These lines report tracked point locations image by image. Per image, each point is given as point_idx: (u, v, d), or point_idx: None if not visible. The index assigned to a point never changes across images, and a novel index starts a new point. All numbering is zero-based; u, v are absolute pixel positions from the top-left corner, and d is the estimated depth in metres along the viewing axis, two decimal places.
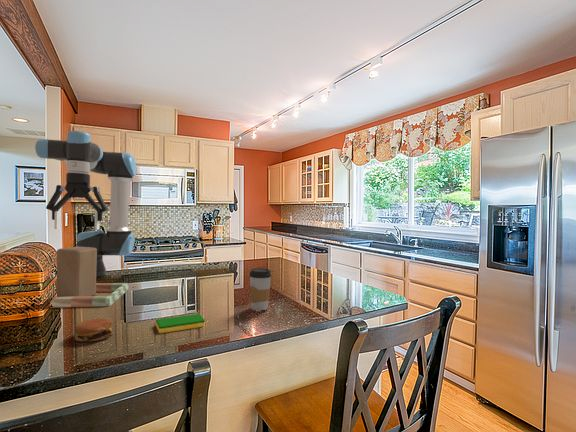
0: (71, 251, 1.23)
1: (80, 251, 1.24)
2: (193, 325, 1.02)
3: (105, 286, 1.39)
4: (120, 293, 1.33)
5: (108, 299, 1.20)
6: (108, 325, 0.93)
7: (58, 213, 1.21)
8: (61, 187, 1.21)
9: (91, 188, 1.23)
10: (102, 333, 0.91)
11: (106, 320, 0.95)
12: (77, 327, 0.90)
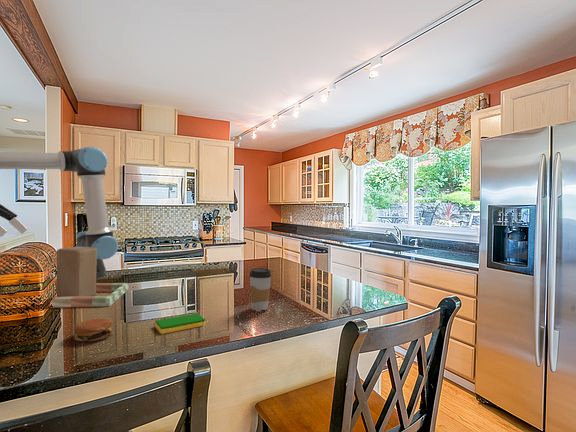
0: (71, 251, 1.23)
1: (80, 251, 1.24)
2: (194, 324, 1.03)
3: (105, 286, 1.39)
4: (120, 293, 1.33)
5: (108, 299, 1.20)
6: (108, 325, 0.93)
7: (12, 221, 1.29)
8: None
9: None
10: (102, 333, 0.91)
11: (106, 320, 0.95)
12: (77, 327, 0.90)
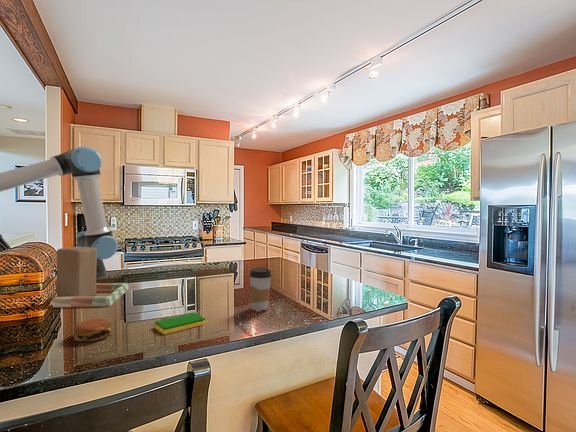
0: (71, 251, 1.23)
1: (80, 251, 1.24)
2: (195, 324, 1.03)
3: (105, 286, 1.39)
4: (120, 293, 1.33)
5: (108, 299, 1.20)
6: (107, 325, 0.93)
7: None
8: None
9: None
10: (101, 333, 0.91)
11: (105, 320, 0.95)
12: (76, 327, 0.90)
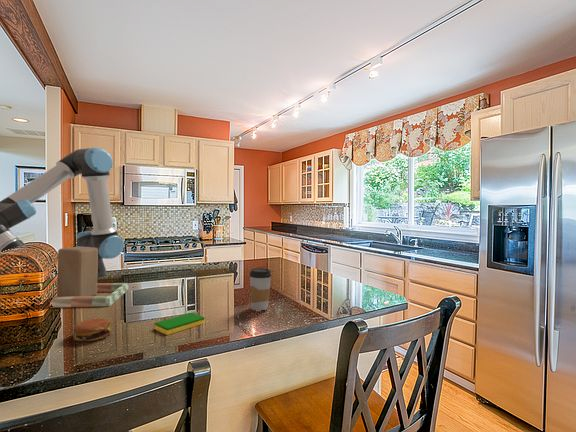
0: (73, 251, 1.24)
1: (82, 251, 1.24)
2: (195, 323, 1.04)
3: (105, 286, 1.39)
4: (120, 293, 1.33)
5: (108, 299, 1.20)
6: (107, 325, 0.93)
7: None
8: None
9: None
10: (100, 333, 0.91)
11: (105, 320, 0.95)
12: (76, 327, 0.90)
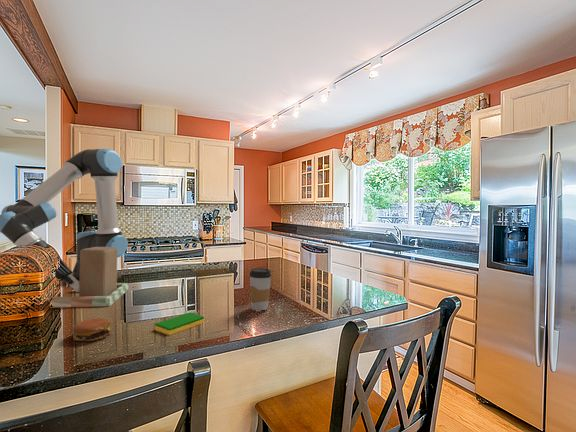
0: (96, 251, 1.25)
1: (105, 251, 1.27)
2: (195, 323, 1.04)
3: None
4: (120, 293, 1.33)
5: (108, 299, 1.20)
6: (106, 325, 0.93)
7: None
8: None
9: None
10: (100, 333, 0.91)
11: (104, 320, 0.95)
12: (75, 327, 0.90)
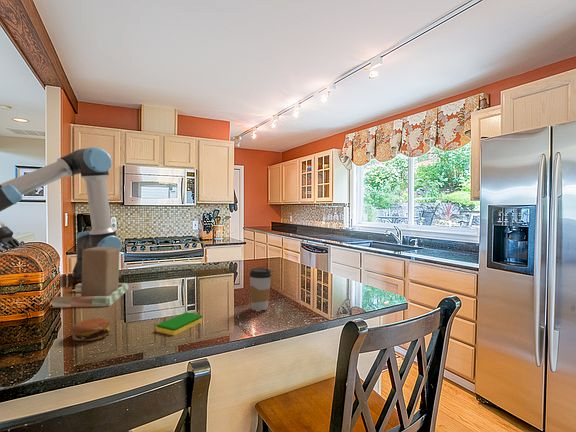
0: (99, 251, 1.25)
1: (108, 251, 1.27)
2: (196, 322, 1.05)
3: None
4: (120, 293, 1.33)
5: (108, 299, 1.20)
6: (105, 325, 0.93)
7: None
8: None
9: None
10: (99, 333, 0.91)
11: (104, 320, 0.95)
12: (74, 326, 0.90)
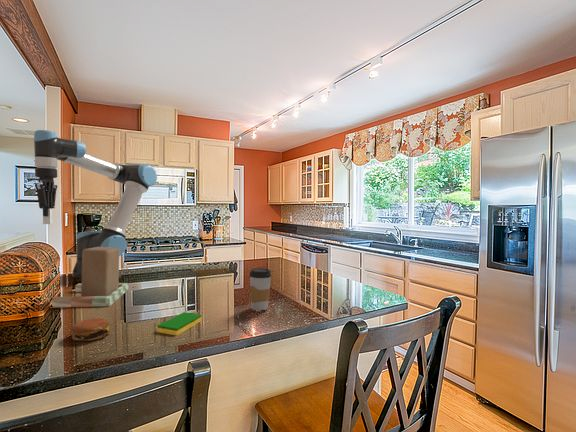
0: (99, 251, 1.25)
1: (108, 251, 1.27)
2: (195, 321, 1.06)
3: None
4: (120, 293, 1.33)
5: (108, 299, 1.20)
6: (105, 325, 0.93)
7: None
8: None
9: None
10: (99, 333, 0.91)
11: (103, 320, 0.95)
12: (74, 326, 0.90)
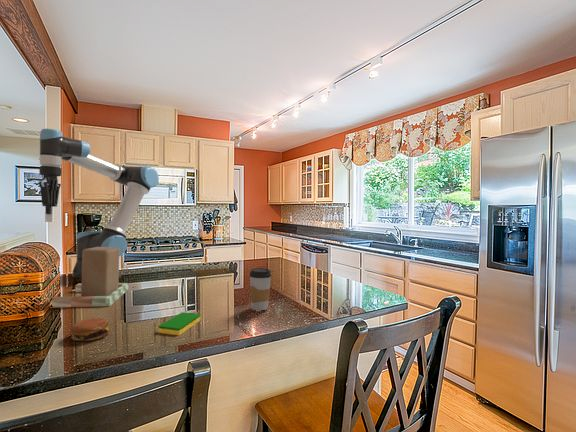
0: (99, 251, 1.25)
1: (108, 251, 1.27)
2: (195, 321, 1.06)
3: None
4: (120, 293, 1.33)
5: (108, 299, 1.20)
6: (104, 325, 0.93)
7: None
8: None
9: None
10: (98, 333, 0.91)
11: (103, 320, 0.95)
12: (74, 326, 0.90)
